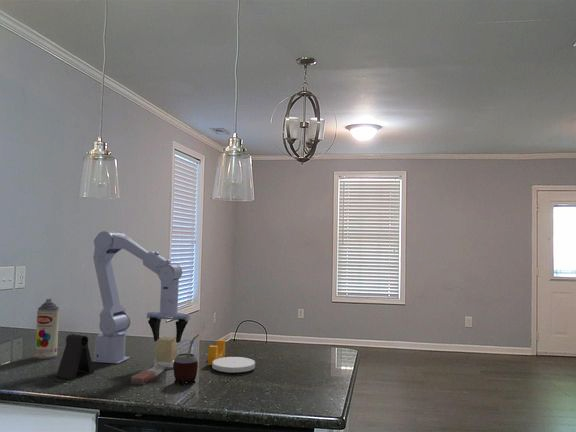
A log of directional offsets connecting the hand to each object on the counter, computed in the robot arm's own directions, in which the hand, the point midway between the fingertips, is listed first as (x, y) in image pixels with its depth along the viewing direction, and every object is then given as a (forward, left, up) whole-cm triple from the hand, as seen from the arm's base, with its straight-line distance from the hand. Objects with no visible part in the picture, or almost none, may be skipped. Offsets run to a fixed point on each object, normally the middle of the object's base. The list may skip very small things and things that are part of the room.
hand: (167, 341), depth 164 cm
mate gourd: (+13, -16, -8) cm, 22 cm away
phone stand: (-22, -17, -8) cm, 29 cm away
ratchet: (0, -8, -8) cm, 12 cm away
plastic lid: (+22, +3, -9) cm, 24 cm away
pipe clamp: (+13, +11, -9) cm, 19 cm away
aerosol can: (-44, 0, -8) cm, 45 cm away
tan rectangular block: (0, 0, -6) cm, 6 cm away
